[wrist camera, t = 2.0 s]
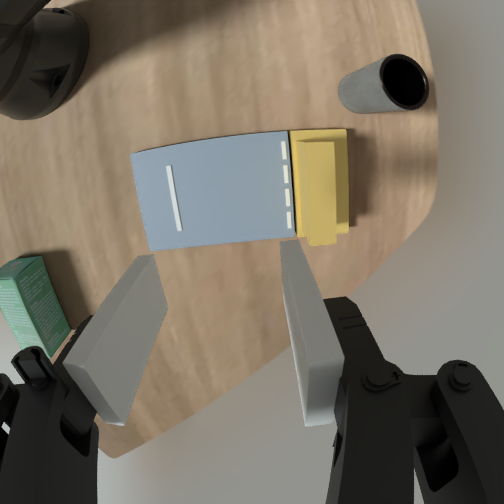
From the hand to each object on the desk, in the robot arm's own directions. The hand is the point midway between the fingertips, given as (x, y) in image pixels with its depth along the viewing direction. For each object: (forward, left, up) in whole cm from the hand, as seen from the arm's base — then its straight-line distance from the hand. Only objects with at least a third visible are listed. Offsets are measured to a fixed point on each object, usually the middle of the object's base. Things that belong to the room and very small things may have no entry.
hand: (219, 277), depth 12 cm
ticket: (0, -2, -19) cm, 19 cm away
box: (+11, -32, -19) cm, 39 cm away
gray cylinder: (-9, +14, -19) cm, 25 cm away
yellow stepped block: (0, +9, -18) cm, 20 cm away
